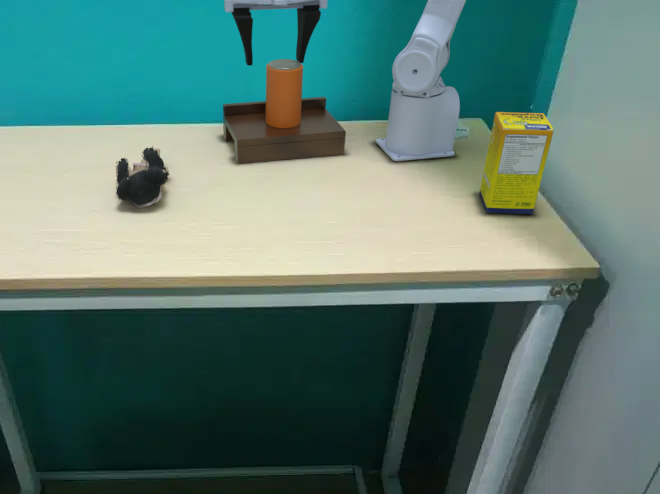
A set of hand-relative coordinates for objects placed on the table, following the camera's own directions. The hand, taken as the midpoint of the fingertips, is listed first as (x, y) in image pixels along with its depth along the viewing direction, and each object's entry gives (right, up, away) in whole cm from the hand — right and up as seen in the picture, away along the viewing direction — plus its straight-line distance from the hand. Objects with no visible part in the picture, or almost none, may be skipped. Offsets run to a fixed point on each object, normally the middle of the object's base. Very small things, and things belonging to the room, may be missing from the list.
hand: (274, 62), depth 109 cm
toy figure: (-18, -21, -10) cm, 30 cm away
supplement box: (+29, -25, -14) cm, 41 cm away
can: (+1, -9, 0) cm, 9 cm away
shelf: (+1, -12, +2) cm, 12 cm away
